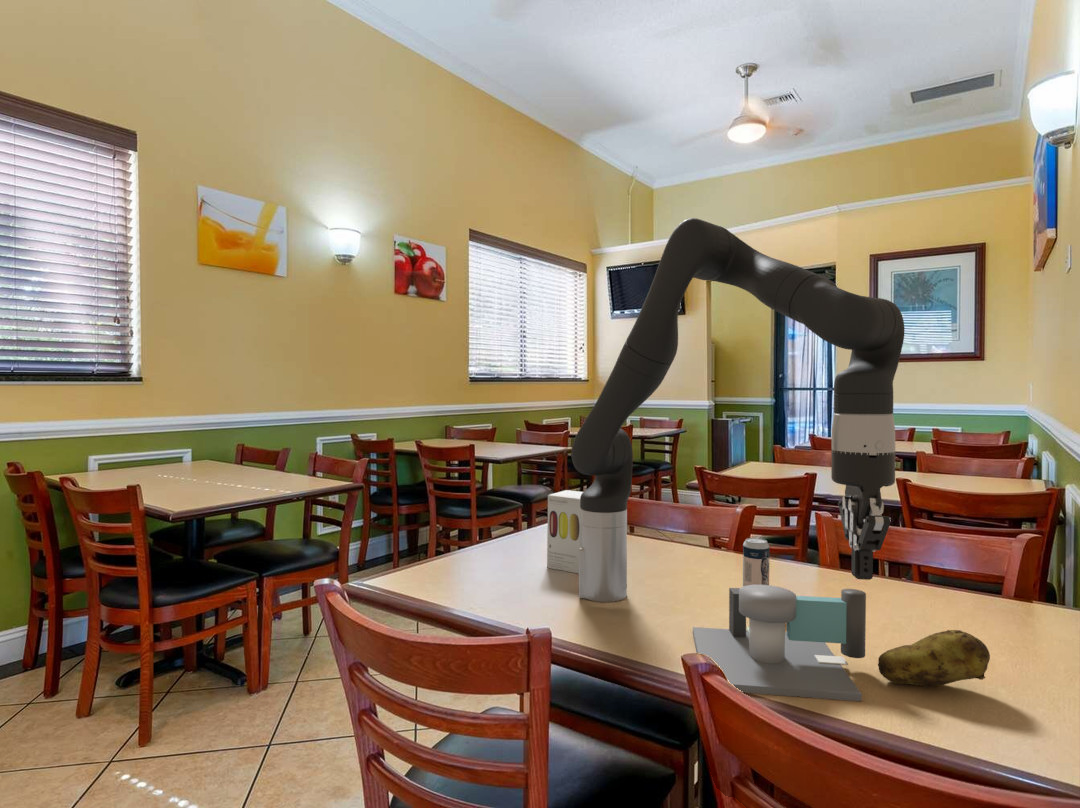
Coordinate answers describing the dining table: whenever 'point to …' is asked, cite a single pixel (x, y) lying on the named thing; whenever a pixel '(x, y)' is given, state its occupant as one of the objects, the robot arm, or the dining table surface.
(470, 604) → the dining table surface
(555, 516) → the supplement box
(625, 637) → the dining table surface
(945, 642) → the potato
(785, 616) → the lever
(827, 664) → the post base
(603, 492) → the robot arm
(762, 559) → the beer can
